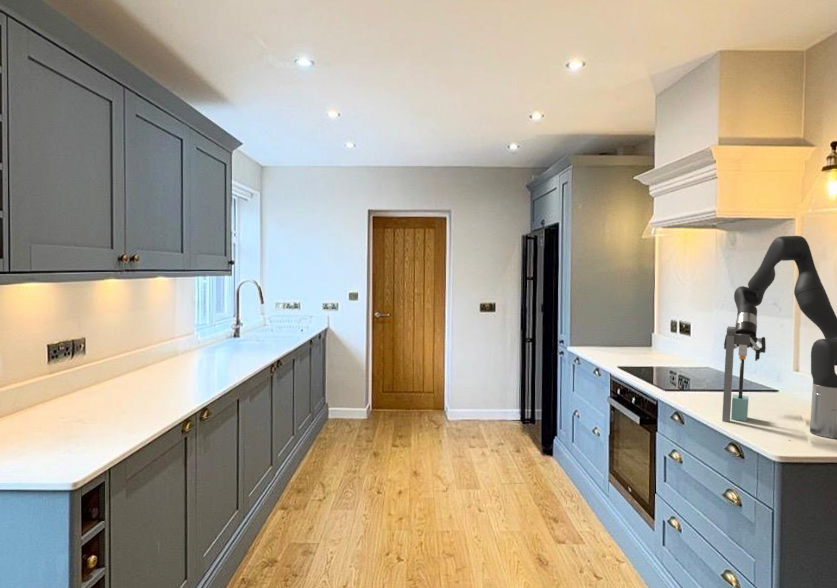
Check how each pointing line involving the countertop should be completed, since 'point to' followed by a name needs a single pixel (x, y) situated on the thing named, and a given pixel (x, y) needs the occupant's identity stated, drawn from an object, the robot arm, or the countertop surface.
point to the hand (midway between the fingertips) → (743, 358)
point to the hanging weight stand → (730, 341)
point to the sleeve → (739, 408)
